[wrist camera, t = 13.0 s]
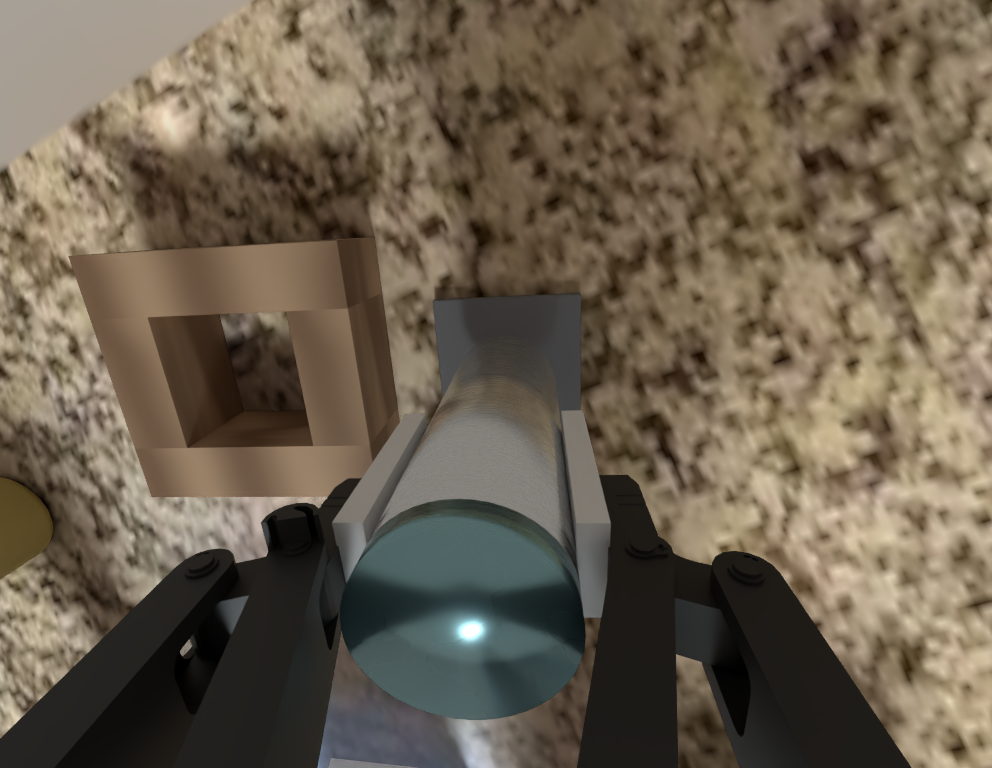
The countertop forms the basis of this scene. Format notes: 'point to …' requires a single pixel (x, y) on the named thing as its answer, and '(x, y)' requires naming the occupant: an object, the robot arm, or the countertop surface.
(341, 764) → the milk
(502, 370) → the teal-capped metal cylinder
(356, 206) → the countertop surface
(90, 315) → the housing
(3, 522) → the bark-print cylinder
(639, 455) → the countertop surface
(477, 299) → the mat
